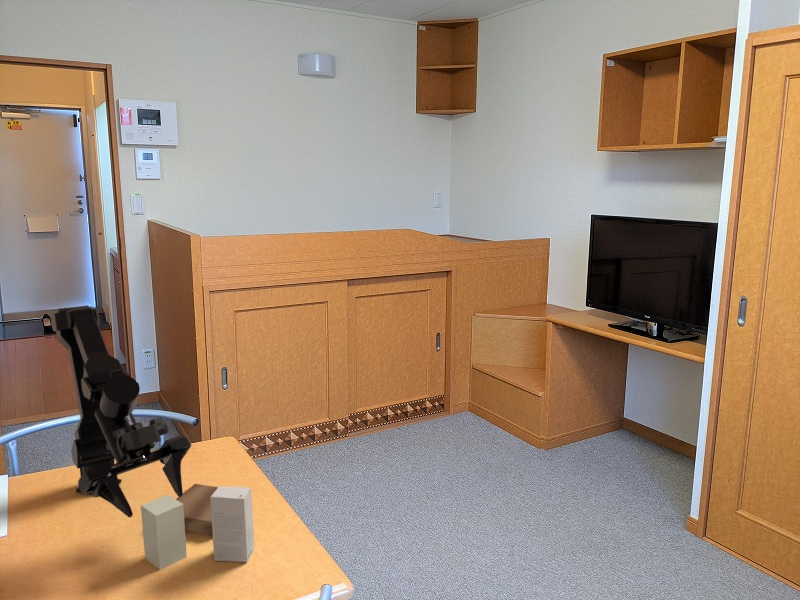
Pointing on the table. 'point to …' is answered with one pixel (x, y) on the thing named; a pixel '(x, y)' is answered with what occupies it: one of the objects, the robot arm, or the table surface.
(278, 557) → the table surface
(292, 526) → the table surface
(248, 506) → the skincare box
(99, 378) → the robot arm
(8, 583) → the table surface
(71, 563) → the table surface
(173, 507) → the pale grey tall block
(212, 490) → the walnut block
